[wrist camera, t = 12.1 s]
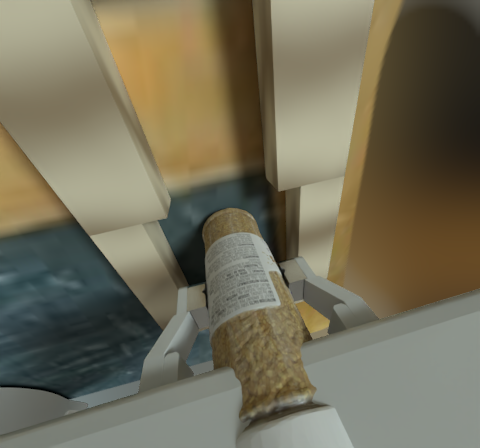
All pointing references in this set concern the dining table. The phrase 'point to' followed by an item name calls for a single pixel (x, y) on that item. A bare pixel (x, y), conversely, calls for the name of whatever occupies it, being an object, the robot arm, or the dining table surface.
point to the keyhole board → (135, 143)
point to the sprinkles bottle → (262, 339)
